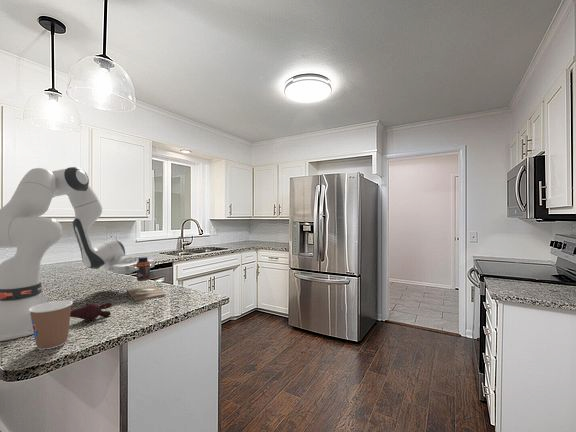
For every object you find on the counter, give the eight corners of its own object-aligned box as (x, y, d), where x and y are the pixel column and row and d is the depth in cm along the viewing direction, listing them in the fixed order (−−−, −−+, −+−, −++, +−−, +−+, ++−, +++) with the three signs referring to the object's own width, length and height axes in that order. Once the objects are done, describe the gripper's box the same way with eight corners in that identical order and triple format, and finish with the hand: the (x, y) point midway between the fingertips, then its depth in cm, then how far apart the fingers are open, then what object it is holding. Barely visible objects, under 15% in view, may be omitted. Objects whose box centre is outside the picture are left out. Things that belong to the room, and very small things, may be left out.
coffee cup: (37, 341, 89) (36, 303, 89) (77, 334, 93) (76, 298, 93) (23, 356, 79) (22, 313, 79) (68, 348, 84) (67, 308, 84)
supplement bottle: (151, 278, 144) (151, 256, 144) (147, 281, 138) (147, 258, 138) (139, 278, 143) (139, 256, 143) (134, 281, 137) (134, 258, 137)
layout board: (164, 295, 136) (164, 293, 136) (134, 301, 128) (134, 299, 128) (154, 286, 154) (154, 284, 154) (127, 290, 146) (127, 289, 146)
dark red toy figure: (63, 311, 98) (113, 305, 107) (63, 300, 103) (111, 296, 113) (61, 329, 99) (111, 322, 108) (61, 317, 104) (109, 312, 114)
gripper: (106, 262, 137) (124, 264, 131) (144, 256, 155) (161, 258, 149) (106, 275, 137) (124, 278, 131) (144, 267, 155) (161, 270, 149)
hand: (144, 267), depth 140 cm, fingers closed on supplement bottle, 6 cm apart
